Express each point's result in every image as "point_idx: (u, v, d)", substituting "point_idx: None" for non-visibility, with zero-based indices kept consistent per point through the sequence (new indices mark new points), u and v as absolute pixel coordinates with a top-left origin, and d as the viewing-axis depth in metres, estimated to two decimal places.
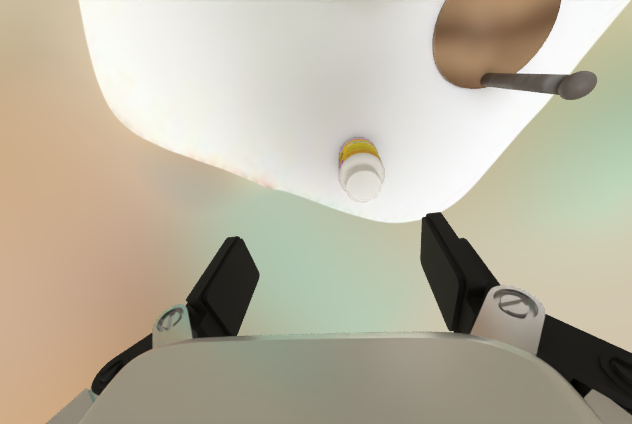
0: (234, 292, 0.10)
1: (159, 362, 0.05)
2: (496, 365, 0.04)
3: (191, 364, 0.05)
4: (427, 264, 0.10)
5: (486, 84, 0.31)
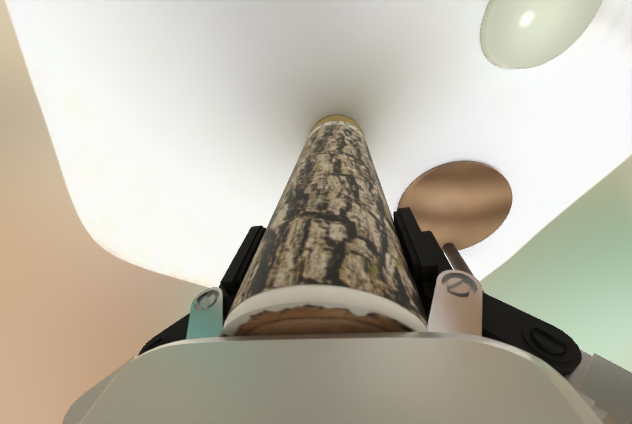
0: None
1: (158, 362, 0.05)
2: (496, 365, 0.04)
3: (191, 364, 0.05)
4: None
5: (447, 256, 0.33)
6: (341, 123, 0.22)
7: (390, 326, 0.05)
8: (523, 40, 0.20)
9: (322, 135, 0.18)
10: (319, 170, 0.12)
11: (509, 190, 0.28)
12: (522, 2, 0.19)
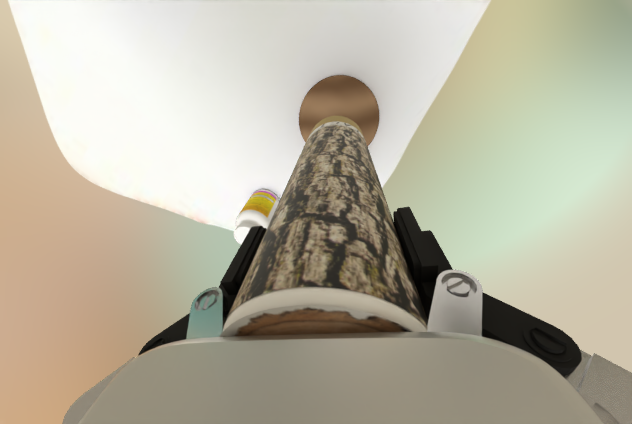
0: None
1: (159, 362, 0.05)
2: (496, 365, 0.04)
3: (191, 364, 0.05)
4: None
5: None
6: (341, 124, 0.22)
7: (390, 329, 0.05)
8: None
9: (322, 136, 0.18)
10: (319, 171, 0.12)
11: (373, 98, 0.37)
12: None
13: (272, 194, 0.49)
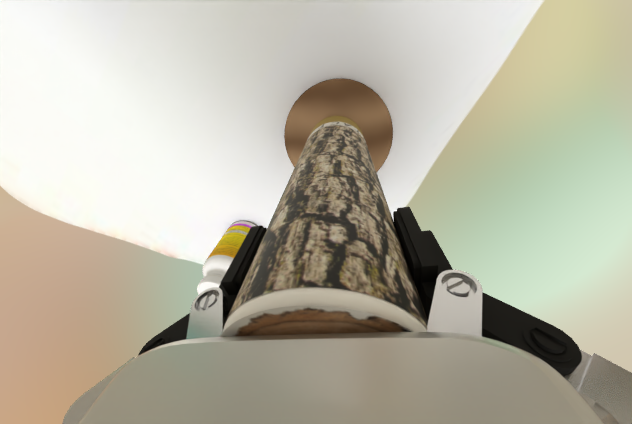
0: None
1: (159, 362, 0.05)
2: (496, 365, 0.04)
3: (191, 364, 0.05)
4: None
5: None
6: (341, 124, 0.22)
7: (391, 329, 0.05)
8: None
9: (322, 136, 0.18)
10: (319, 171, 0.12)
11: (385, 110, 0.27)
12: None
13: None
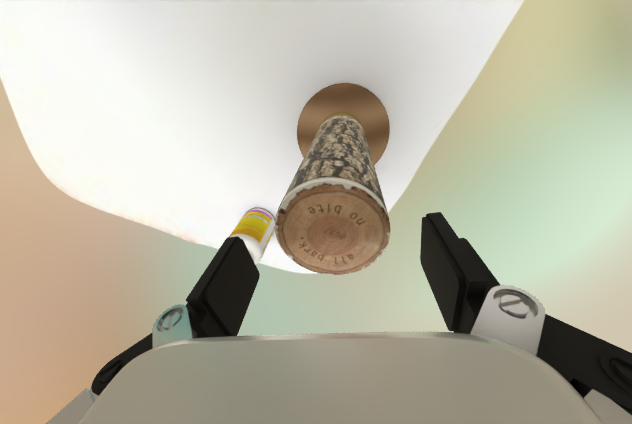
0: (234, 292, 0.10)
1: (158, 362, 0.05)
2: (496, 365, 0.04)
3: (191, 364, 0.05)
4: (427, 264, 0.10)
5: None
6: (345, 117, 0.28)
7: (362, 196, 0.12)
8: None
9: (330, 124, 0.25)
10: (328, 141, 0.18)
11: (383, 109, 0.32)
12: None
13: (267, 214, 0.44)
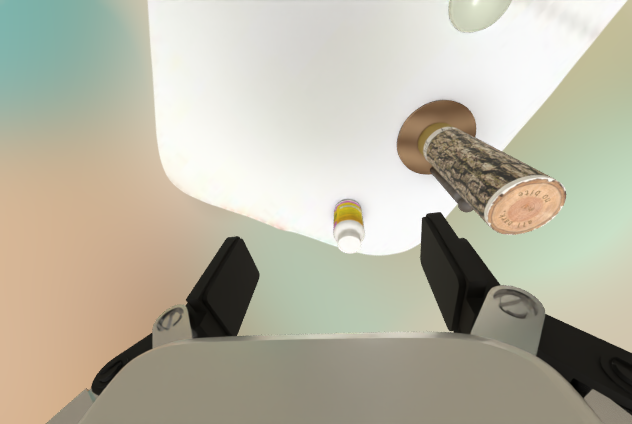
0: (234, 292, 0.10)
1: (158, 362, 0.05)
2: (496, 365, 0.04)
3: (191, 364, 0.05)
4: (427, 264, 0.10)
5: None
6: (454, 128, 0.37)
7: (556, 185, 0.21)
8: (473, 13, 0.33)
9: (455, 135, 0.34)
10: (486, 150, 0.27)
11: (473, 120, 0.41)
12: None
13: (357, 204, 0.53)
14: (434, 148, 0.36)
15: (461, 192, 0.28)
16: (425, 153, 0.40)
